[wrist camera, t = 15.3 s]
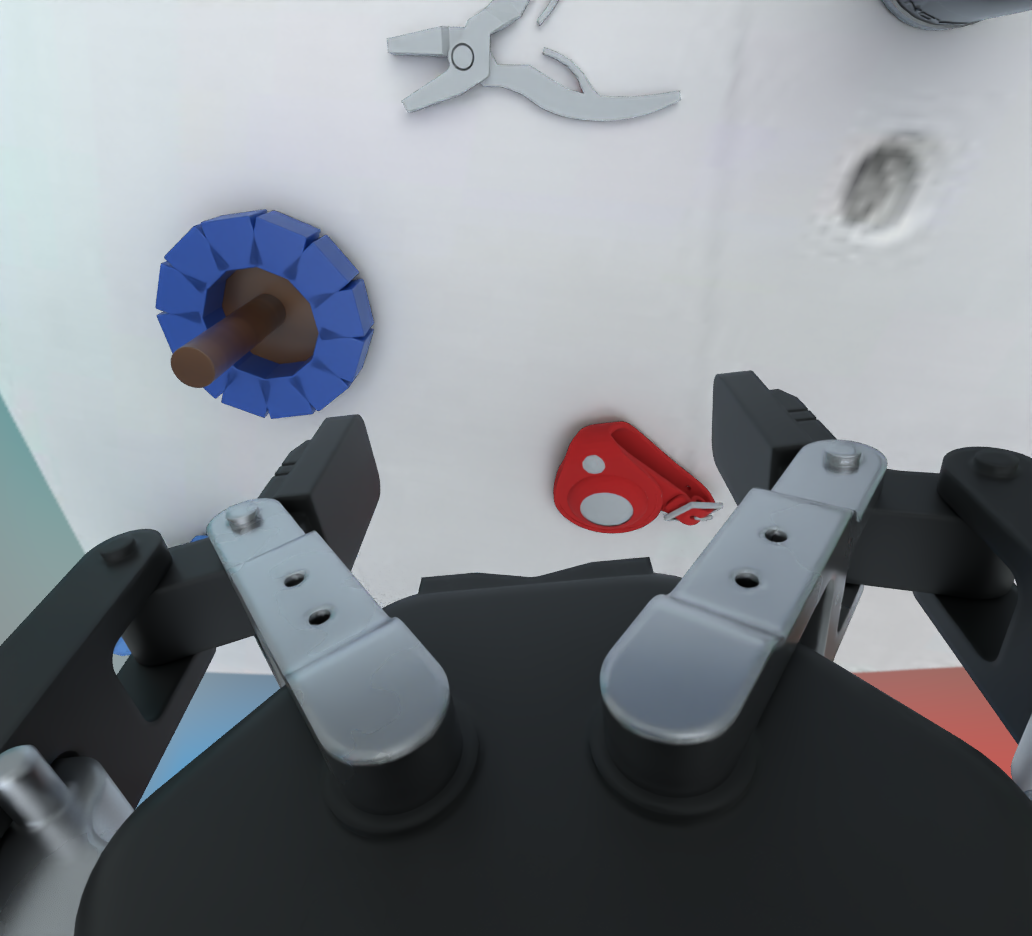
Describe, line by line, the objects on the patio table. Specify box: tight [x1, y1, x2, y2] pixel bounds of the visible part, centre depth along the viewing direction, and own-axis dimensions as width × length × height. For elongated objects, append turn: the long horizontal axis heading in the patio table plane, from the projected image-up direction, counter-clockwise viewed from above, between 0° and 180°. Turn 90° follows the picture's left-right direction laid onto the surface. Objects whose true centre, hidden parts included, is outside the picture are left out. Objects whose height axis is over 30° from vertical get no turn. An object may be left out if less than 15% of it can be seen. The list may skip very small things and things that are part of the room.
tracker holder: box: [553, 421, 723, 533], centre depth 45 cm, size 12×4×10 cm
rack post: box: [171, 267, 319, 388], centre depth 36 cm, size 8×8×12 cm
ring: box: [156, 209, 374, 419], centre depth 39 cm, size 12×12×3 cm
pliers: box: [387, 0, 681, 121], centre depth 33 cm, size 10×2×15 cm
